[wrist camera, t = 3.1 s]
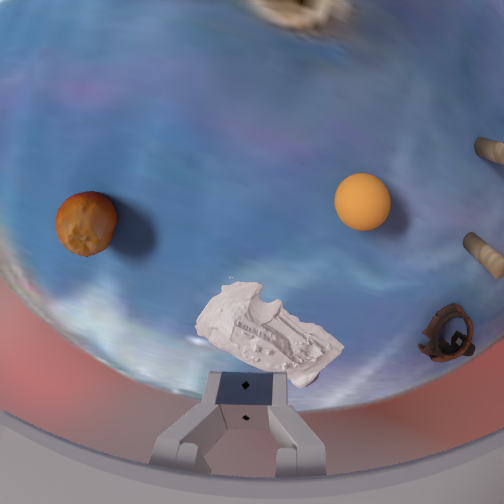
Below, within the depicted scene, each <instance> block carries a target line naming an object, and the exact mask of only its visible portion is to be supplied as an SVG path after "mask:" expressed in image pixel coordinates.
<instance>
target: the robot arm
mask: <svg viewBox="0 0 504 504" xmlns="http://www.w3.org/2000/svg"><path fill="white" fill-rule="evenodd" d="M227 429H253V430H270V432H271V433H272V435H273V436H274V438H275V439H276V441H277V442H278V444H279V445H280V447H281V448H280V449H279V450H278V451H277V460H276V475H275V477H270V478H269V477H239V476H226V475H215V474H211V471H212V470H211V468H210V467H209V465H208V463H207V462H206V460H205V458H204V456H205V455H206V454H207V453H208V452H209V450H210V449H211V448H212V447H213V446H214V445H215V444H216V443H217V441H218V440H219V439H220V438H221V437H222V436H223V435H224V433H225V432H226V431H227ZM325 460H326V459H325V445H324V444H323V443H322V441H321V440H320V439H319V438H318V437H317V436H316V435H315V433H314V432H313V431H312V430H311V429H310V427H309V426H308V425H307V424H306V423H305V422H304V420H303V419H302V418H301V417H300V416H299V414H298V413H297V412H296V411H295V409H294V408H293V407H292V406H291V405H287V371H286V372H248V373H245V372H219V371H210V372H209V374H208V377H207V381H206V385H205V389H204V393H203V397H202V401H201V403H197V404H196V405H195V406H194V407H193V408H191V409H190V410H189V411H188V412H187V413H186V414H185V415H183V416H182V417H181V418H180V419H179V420H177V421H176V422H175V423H174V424H173V425H172V426H170V427H169V428H168V429H167V430H166V431H164V432H163V433H162V434H161V435H160V436H158V437H157V440H156V443H155V446H154V449H153V453H152V456H151V459H150V462H149V464H147V463H142V462H138V461H134V460H130V459H126V458H123V457H119V456H115V455H111V454H108V453H105V452H102V451H99V450H96V449H93V448H89V447H87V446H84V445H81V444H78V443H76V442H73V441H70V440H67V439H65V438H62V437H60V436H58V435H55V434H53V433H51V432H48V431H46V430H43V429H41V428H39V427H37V426H35V425H33V424H31V423H29V422H27V421H25V420H22V419H21V418H19V417H17V416H15V415H13V414H11V413H9V412H7V411H4V410H1V411H0V504H504V427H503V428H501V429H499V430H497V431H495V432H493V433H490V434H488V435H485V436H483V437H481V438H478V439H476V440H473V441H471V442H468V443H466V444H463V445H460V446H457V447H454V448H452V449H449V450H446V451H442V452H439V453H436V454H433V455H430V456H426V457H422V458H419V459H415V460H411V461H407V462H403V463H399V464H394V465H390V466H385V467H380V468H375V469H368V470H363V471H356V472H349V473H341V474H332V475H326V461H325Z"/></svg>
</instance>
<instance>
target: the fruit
mask: <svg viewBox="0 0 504 504" xmlns="http://www.w3.org/2000/svg"><path fill="white" fill-rule="evenodd" d="M116 223H117V213H116V210H115V208H114V206H113V204H112V202H111V201H110V199H108V198H107V197H105V196H104V195H102V194H100V193H99V192H94V191H89V192H83V193H78V194H75V195H73V196H71V197H69V198H68V199H67V200H66V201H65V202H64V203H63V204H62V205H61V206H60V208H59V209H58V211H57V216H56V231H57V236H58V237H59V240H60V241H61V243H62V244H63V246H64V247H65V248H67V249H68V250H69V251H71V252H72V253H75V254H77V255H80V256H85V257H88V256H91V255H95V254H97V253H99V252H101V251H103V250H105V249H106V248H107V247H108V245H109V243H110V241H111V239H112V237H113V233H114V229H115V226H116Z"/></svg>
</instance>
